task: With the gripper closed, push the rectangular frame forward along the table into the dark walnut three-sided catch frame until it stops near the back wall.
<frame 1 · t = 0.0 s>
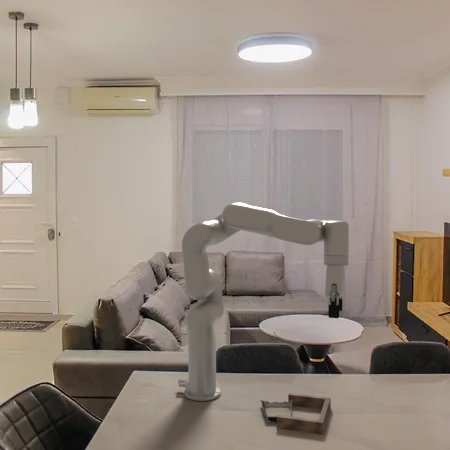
hand: (335, 314, 162), 31 cm above the table, tool pointing down, fingers open, 9 cm apart
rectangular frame: (277, 416, 162), on the table
catch frame: (304, 417, 159), on the table
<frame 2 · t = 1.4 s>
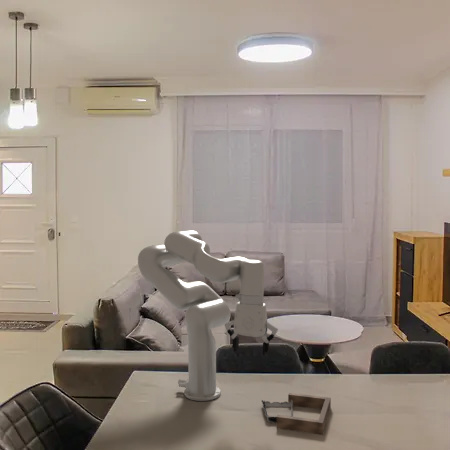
hand: (250, 352, 164), 19 cm above the table, tool pointing down, fingers open, 9 cm apart
nothing on the table moved.
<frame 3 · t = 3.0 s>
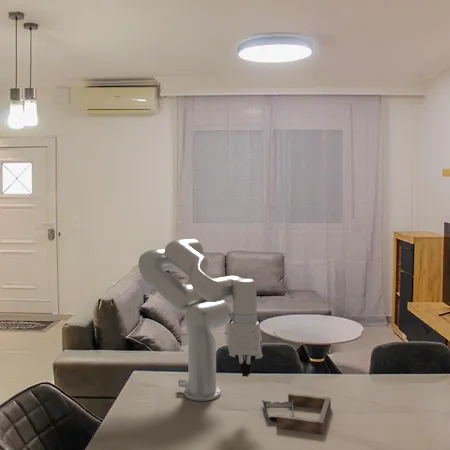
hand: (246, 375, 164), 12 cm above the table, tool pointing down, fingers closed
nothing on the table moved.
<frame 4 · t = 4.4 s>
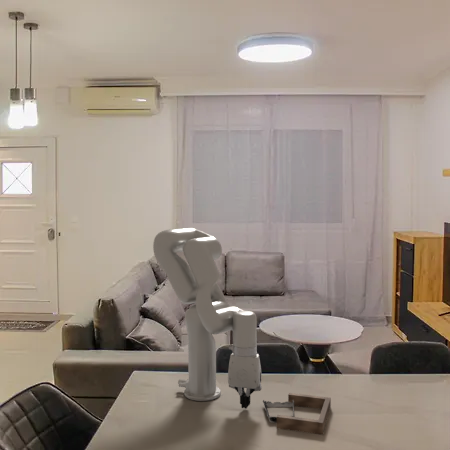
hand: (245, 406, 165), 1 cm above the table, tool pointing down, fingers closed
nothing on the table moved.
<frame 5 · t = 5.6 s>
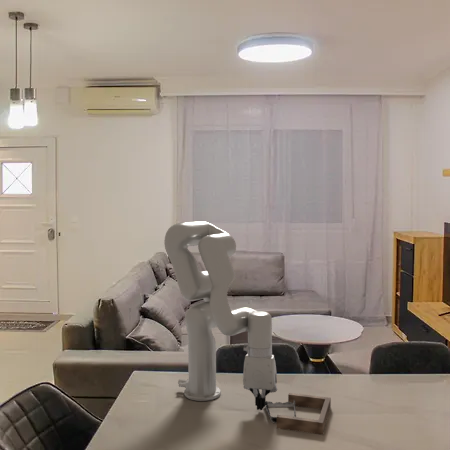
hand: (260, 408, 164), 1 cm above the table, tool pointing down, fingers closed
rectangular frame: (280, 416, 162), on the table, touching gripper
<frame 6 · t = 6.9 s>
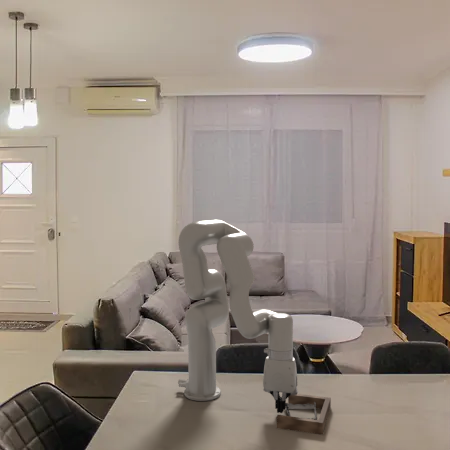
hand: (280, 411, 162), 1 cm above the table, tool pointing down, fingers closed
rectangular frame: (301, 418, 160), on the table
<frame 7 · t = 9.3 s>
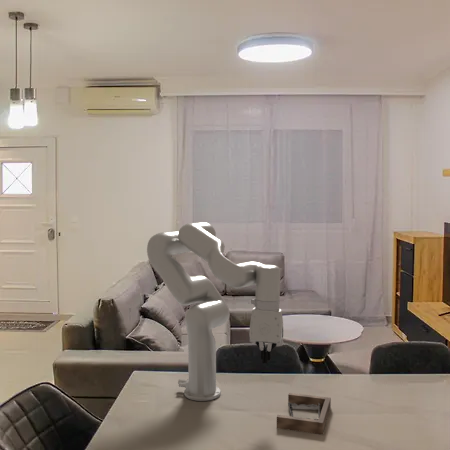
hand: (265, 362, 162), 16 cm above the table, tool pointing down, fingers closed
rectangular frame: (304, 418, 160), on the table
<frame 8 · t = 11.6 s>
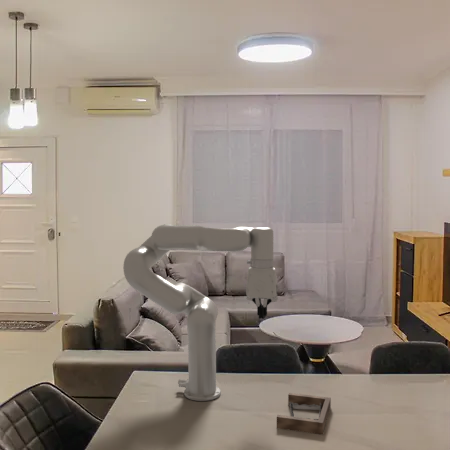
hand: (262, 317, 175), 27 cm above the table, tool pointing down, fingers closed
nothing on the table moved.
at the end: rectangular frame inside the target area (0.8 cm from its centre), on the table; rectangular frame moved 8.8 cm from its start; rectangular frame tilted 0° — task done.
